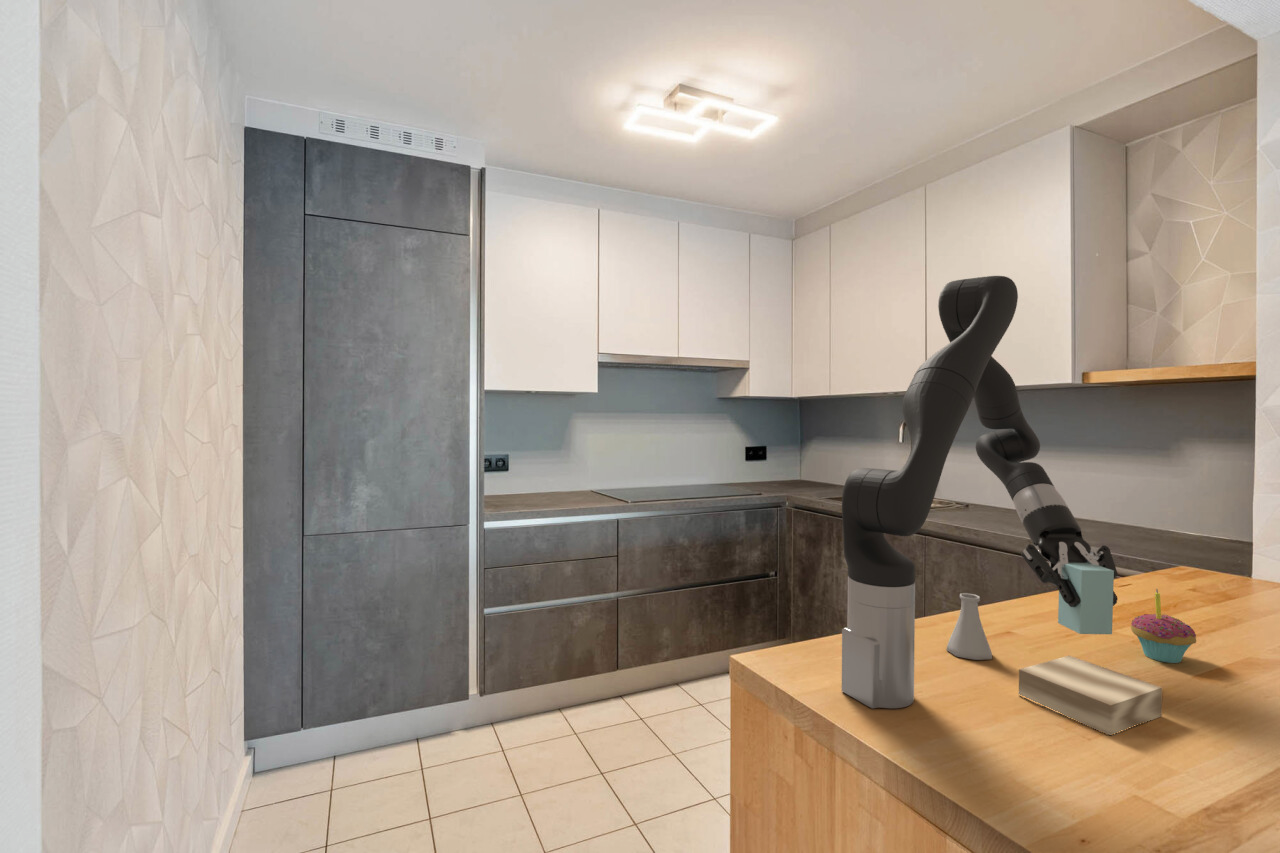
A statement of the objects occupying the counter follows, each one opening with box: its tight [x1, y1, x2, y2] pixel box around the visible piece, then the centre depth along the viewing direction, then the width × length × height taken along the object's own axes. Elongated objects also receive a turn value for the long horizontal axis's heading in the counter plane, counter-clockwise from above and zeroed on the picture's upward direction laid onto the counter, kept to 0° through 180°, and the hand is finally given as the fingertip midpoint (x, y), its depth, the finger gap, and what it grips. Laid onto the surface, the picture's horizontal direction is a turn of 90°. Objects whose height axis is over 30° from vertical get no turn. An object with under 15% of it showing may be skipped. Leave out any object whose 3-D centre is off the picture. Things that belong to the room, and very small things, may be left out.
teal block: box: [1057, 563, 1115, 635], centre depth 97 cm, size 5×5×10 cm
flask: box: [946, 592, 993, 661], centre depth 105 cm, size 7×7×10 cm
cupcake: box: [1130, 588, 1197, 664], centre depth 103 cm, size 9×8×12 cm
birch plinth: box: [1018, 655, 1163, 736], centre depth 86 cm, size 12×12×4 cm
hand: (1093, 604), depth 96 cm, fingers closed on teal block, 5 cm apart
